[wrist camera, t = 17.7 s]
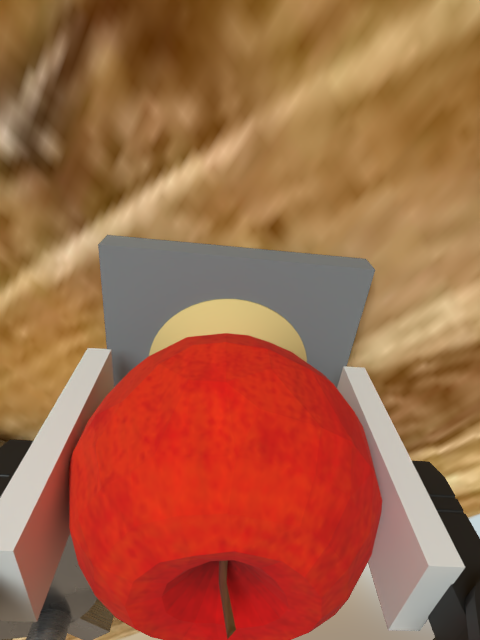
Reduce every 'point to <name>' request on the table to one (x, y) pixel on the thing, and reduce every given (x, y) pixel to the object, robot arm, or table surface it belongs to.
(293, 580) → the apple
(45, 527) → the robot arm
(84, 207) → the table surface
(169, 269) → the seat
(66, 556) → the sprocket
